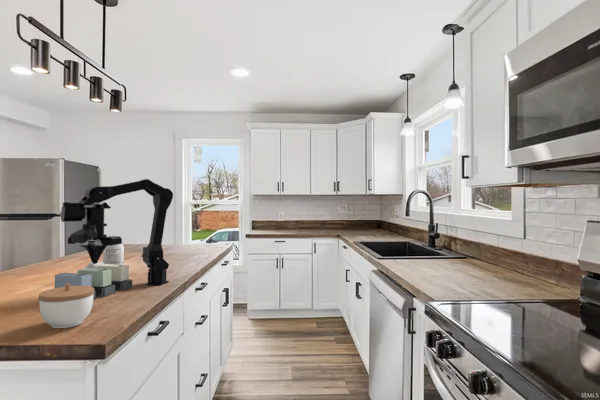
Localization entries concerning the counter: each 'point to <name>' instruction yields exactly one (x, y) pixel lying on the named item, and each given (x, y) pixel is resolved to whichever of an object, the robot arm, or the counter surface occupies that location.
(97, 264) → the grey angular block
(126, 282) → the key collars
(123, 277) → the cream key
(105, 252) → the supplement can
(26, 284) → the counter surface
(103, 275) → the sage key
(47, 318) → the lidded bowl
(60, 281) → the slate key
